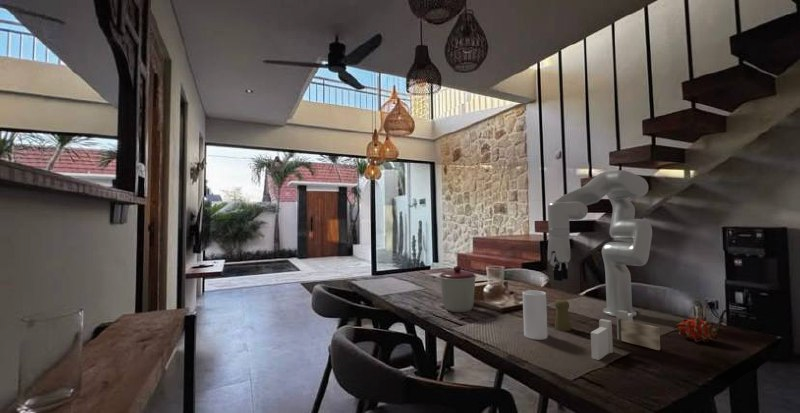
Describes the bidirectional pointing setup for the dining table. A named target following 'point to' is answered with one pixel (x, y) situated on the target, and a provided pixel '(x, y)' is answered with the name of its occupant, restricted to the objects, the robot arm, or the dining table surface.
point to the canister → (458, 289)
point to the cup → (535, 314)
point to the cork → (562, 315)
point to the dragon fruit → (697, 329)
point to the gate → (639, 334)
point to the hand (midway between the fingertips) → (560, 279)
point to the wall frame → (606, 335)
